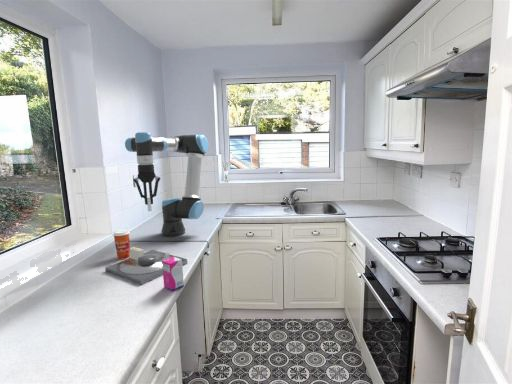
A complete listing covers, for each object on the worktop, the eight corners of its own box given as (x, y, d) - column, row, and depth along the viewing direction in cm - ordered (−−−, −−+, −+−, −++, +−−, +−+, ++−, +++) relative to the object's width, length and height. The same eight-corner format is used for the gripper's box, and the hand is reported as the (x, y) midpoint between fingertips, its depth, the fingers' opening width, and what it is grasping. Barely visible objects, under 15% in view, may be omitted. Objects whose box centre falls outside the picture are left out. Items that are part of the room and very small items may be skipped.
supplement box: (175, 281, 124) (173, 255, 122) (184, 285, 120) (182, 259, 118) (163, 287, 119) (161, 260, 118) (172, 291, 116) (170, 263, 114)
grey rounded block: (159, 260, 140) (158, 249, 140) (145, 266, 134) (144, 255, 133) (139, 255, 148) (138, 244, 147) (125, 260, 141) (123, 249, 141)
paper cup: (114, 260, 149) (111, 234, 146) (117, 255, 156) (114, 229, 154) (130, 258, 151) (128, 232, 148) (132, 253, 158) (130, 228, 156)
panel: (152, 253, 157) (152, 248, 157) (187, 263, 143) (187, 258, 143) (105, 271, 136) (105, 266, 136) (141, 284, 122) (140, 279, 121)
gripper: (131, 165, 140) (136, 213, 144) (160, 163, 146) (164, 210, 150) (131, 164, 147) (135, 210, 151) (158, 163, 152) (161, 207, 156)
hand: (149, 210), depth 150 cm, fingers closed
